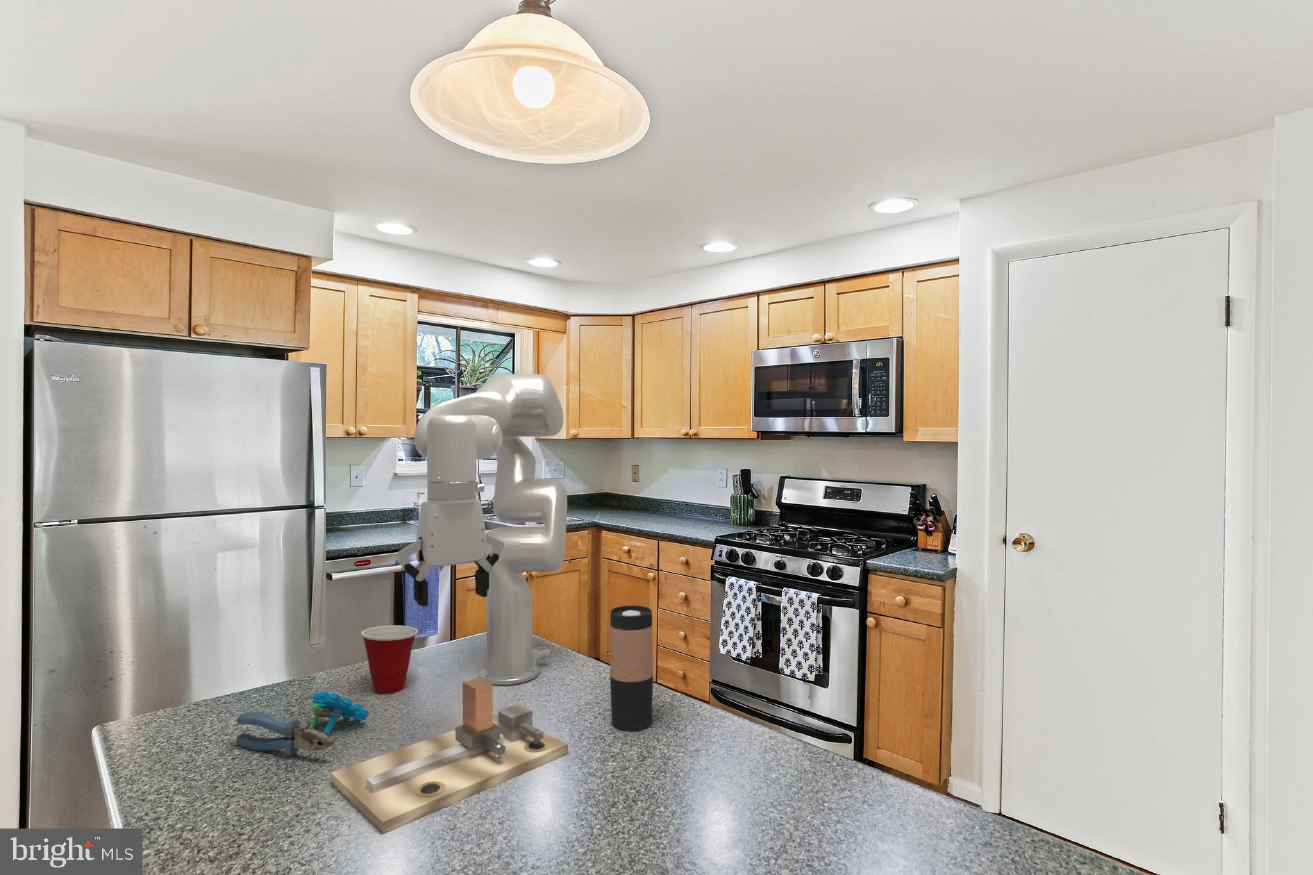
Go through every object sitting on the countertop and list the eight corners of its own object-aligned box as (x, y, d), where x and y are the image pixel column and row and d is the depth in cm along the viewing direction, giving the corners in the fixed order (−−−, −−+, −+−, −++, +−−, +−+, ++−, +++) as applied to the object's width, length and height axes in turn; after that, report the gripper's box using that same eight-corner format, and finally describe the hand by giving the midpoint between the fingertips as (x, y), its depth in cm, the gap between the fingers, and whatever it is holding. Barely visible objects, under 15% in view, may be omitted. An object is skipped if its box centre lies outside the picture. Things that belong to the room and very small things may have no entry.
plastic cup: (427, 688, 135) (427, 629, 135) (373, 703, 128) (373, 641, 128) (405, 674, 143) (405, 619, 143) (353, 688, 136) (352, 629, 136)
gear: (382, 714, 119) (343, 688, 113) (365, 748, 115) (324, 722, 109) (339, 712, 124) (300, 686, 118) (322, 744, 120) (280, 720, 114)
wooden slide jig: (506, 720, 120) (506, 689, 120) (568, 753, 107) (567, 719, 107) (331, 782, 99) (331, 745, 99) (382, 833, 86) (382, 790, 86)
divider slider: (483, 735, 109) (483, 674, 109) (516, 754, 103) (515, 690, 103) (455, 745, 106) (455, 683, 106) (487, 766, 99) (487, 699, 99)
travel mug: (601, 722, 119) (601, 610, 119) (634, 710, 124) (634, 602, 124) (628, 736, 113) (628, 618, 113) (662, 723, 118) (661, 610, 118)
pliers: (336, 761, 105) (336, 724, 105) (325, 767, 103) (325, 729, 103) (245, 741, 112) (245, 706, 112) (233, 747, 110) (233, 711, 110)
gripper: (492, 488, 114) (493, 588, 114) (388, 494, 104) (389, 604, 104) (512, 491, 109) (513, 596, 109) (404, 497, 98) (405, 614, 98)
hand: (452, 600), depth 106 cm, fingers open, 9 cm apart
